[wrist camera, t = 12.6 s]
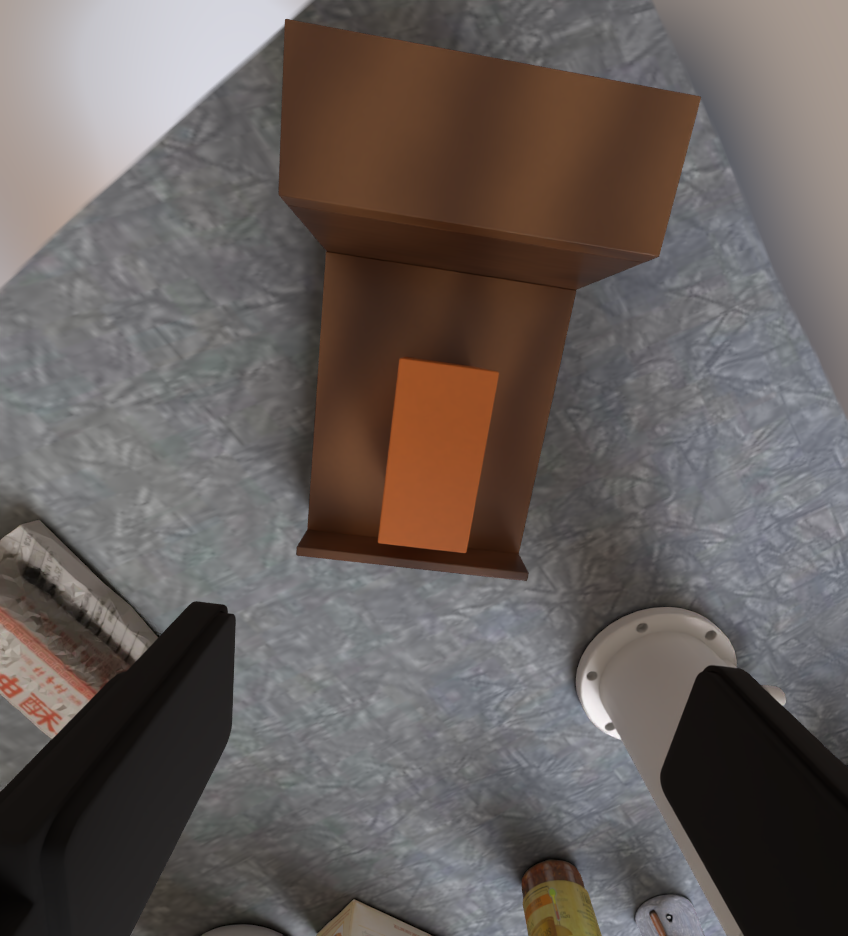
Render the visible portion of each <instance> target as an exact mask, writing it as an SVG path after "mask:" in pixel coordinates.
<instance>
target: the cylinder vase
mask: <svg viewBox="0 0 848 936" xmlns="http://www.w3.org/2000/svg"><path fill="white" fill-rule="evenodd" d="M201 936H284V935H282V934H280V933H278V932H276V931H274V930H271V929H268V928H265V927H261V926H256V925H246V924H237V925H228V926H223V927H219V928H216V929H213V930H210V931H208V932H206V933H204V934H203V935H201Z"/></svg>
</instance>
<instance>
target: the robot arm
mask: <svg viewBox="0 0 848 936" xmlns="http://www.w3.org/2000/svg"><path fill="white" fill-rule="evenodd" d="M235 624H236V619H235V615H234V614H229V613H228V610H227V607H226V606H225V605H221V604H213V603H205V602H197V601H196V602H193V603H191V604H190V605H189V606H188V607H187V608H186V609H185V610H184V611H183V612H182V613H181V614H180V615H179V616H178V618H177V619H176V620H175V621H174V622H173V623H172V624H171V625H170V626H169V627H168V628H167V629H166V630H165V631H164V632H163V633H162V634H161V635H160V636H159V638H158V639H157V640H156V641H155V642H154V643H153V644H152V645H151V646H150V647H149V648H148V649H147V650H146V651H145V652H144V653H143V654H142V655H141V657H140V658H139V659H138V660H137V661H136V662H135V663H134V664H133V665H132V666H131V667H130V668H129V669H128V670H127V671H124V672H121V673H119V674H117V675H115V676H114V677H113V678H112V679H111V680H110V681H108V682H107V683H106V684H105V685H104V686H103V687H102V688H101V689H100V691H99V692H98V693H97V694H96V695H95V696H94V697H93V698H92V699H91V700H90V701H89V702H88V703H87V704H86V705H85V706H84V707H83V708H82V709H81V710H80V711H79V712H78V713H77V714H76V715H75V716H74V717H73V718H72V719H71V720H70V721H69V722H68V723H67V724H66V725H65V726H64V727H63V728H62V730H61V731H60V732H59V733H58V734H57V735H56V736H55V737H54V738H53V739H52V740H51V741H50V742H49V743H48V744H47V745H46V746H45V747H44V748H43V749H42V750H41V751H40V752H39V753H38V754H37V755H36V756H35V757H34V758H33V759H32V760H31V761H30V762H29V763H28V764H27V765H26V766H25V767H24V768H23V770H22V771H21V772H20V773H19V774H18V775H17V776H16V777H15V778H14V779H13V780H12V781H11V782H10V783H9V784H8V785H7V786H6V787H5V788H4V789H3V790H2V791H1V792H0V936H130V935H131V933H132V931H133V929H134V927H135V925H136V923H137V921H138V919H139V917H140V915H141V913H142V911H143V909H144V907H145V905H146V903H147V901H148V899H149V897H150V895H151V893H152V891H153V889H154V887H155V885H156V883H157V881H158V879H159V877H160V875H161V873H162V871H163V869H164V867H165V865H166V863H167V862H168V860H169V858H170V856H171V854H172V852H173V850H174V848H175V846H176V844H177V842H178V840H179V838H180V836H181V834H182V832H183V830H184V828H185V826H186V824H187V822H188V820H189V818H190V816H191V814H192V812H193V810H194V808H195V806H196V804H197V802H198V800H199V798H200V796H201V794H202V792H203V790H204V788H205V786H206V784H207V782H208V780H209V778H210V777H211V775H212V773H213V771H214V769H215V767H216V765H217V763H218V761H219V759H220V757H221V755H222V753H223V751H224V749H225V747H226V744H227V742H228V739H229V736H230V732H231V727H232V708H233V680H234V652H235ZM576 689H577V695H578V697H579V700H580V703H581V705H582V707H583V709H584V711H585V713H586V714H587V716H588V718H589V719H590V720H591V721H592V722H593V724H594V725H595V726H596V727H597V728H599V729H600V730H601V731H603V732H604V733H606V734H608V735H610V736H612V737H615V738H617V739H620V740H622V742H623V743H624V745H625V747H626V749H627V751H628V753H629V755H630V756H631V758H632V760H633V762H634V764H635V766H636V768H637V770H638V771H639V773H640V775H641V777H642V779H643V781H644V783H645V784H646V786H647V788H648V790H649V792H650V794H651V796H652V797H653V799H654V801H655V803H656V805H657V807H658V809H659V810H660V812H661V814H662V816H663V818H664V820H665V822H666V823H667V825H668V827H669V829H670V831H671V833H672V835H673V836H674V838H675V840H676V842H677V844H678V846H679V848H680V849H681V851H682V853H683V855H684V857H685V859H686V861H687V862H688V864H689V866H690V868H691V870H692V872H693V874H694V876H695V877H696V879H697V881H698V883H699V885H700V887H701V889H702V890H703V892H704V894H705V896H706V898H707V900H708V902H709V903H710V905H711V907H712V909H713V911H714V913H715V915H716V916H717V918H718V920H719V922H720V924H721V926H722V928H723V929H724V931H725V933H726V935H727V936H848V768H847V767H846V766H845V765H844V764H843V763H842V762H841V761H840V760H839V759H838V758H837V757H836V756H835V755H833V754H832V753H831V752H830V751H829V750H828V749H827V748H826V747H825V746H824V745H823V744H822V743H821V742H820V741H819V740H818V739H817V738H816V737H815V736H814V735H812V734H811V733H810V732H809V731H808V730H807V729H806V728H805V727H804V726H803V725H802V724H801V723H800V722H799V721H798V720H797V719H796V718H795V717H794V716H793V715H791V714H790V713H789V712H788V711H787V710H786V709H785V708H784V707H783V706H784V705H785V704H786V697H785V694H784V692H783V691H782V690H781V689H780V688H778V687H777V686H767V685H760V684H759V683H758V682H757V681H756V680H755V679H754V678H753V677H752V676H751V675H750V674H748V673H747V672H746V671H744V670H742V669H739V668H737V660H736V655H735V651H734V648H733V646H732V644H731V643H730V641H729V639H728V638H727V637H726V635H725V634H724V633H723V632H722V631H721V630H720V629H719V628H718V627H717V626H716V625H714V624H713V623H712V622H711V621H710V620H708V619H707V618H705V617H703V616H702V615H700V614H698V613H696V612H693V611H689V610H686V609H683V608H674V607H657V608H649V609H645V610H640V611H636V612H634V613H631V614H629V615H626V616H624V617H622V618H620V619H618V620H617V621H615V622H613V623H612V624H610V625H608V626H607V627H606V628H605V629H604V630H602V631H601V632H600V633H599V634H598V635H597V636H596V637H595V638H594V639H593V640H592V642H591V643H590V644H589V645H588V647H587V648H586V650H585V652H584V653H583V655H582V657H581V659H580V662H579V665H578V668H577V674H576Z"/></svg>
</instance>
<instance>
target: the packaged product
mask: <svg viewBox="0 0 848 936" xmlns="http://www.w3.org/2000/svg"><path fill="white" fill-rule="evenodd" d="M157 639H158V637H157V636H156V635H155V634H154V632H153V631H152V630H151V629H150V628H149V627H148V625H147V624H146V623H145V622H144V621H143V620H142V618H141V617H140V616H139V615H138V614H137V613H136V611H135V610H134V609H133V608H132V607H131V606H130V605H129V604H128V603H127V602H125V601H124V600H123V599H122V598H121V597H119V596H118V595H117V594H116V593H115V592H114V591H112V590H111V589H110V588H109V587H108V586H106V585H105V584H104V583H103V582H102V581H101V580H100V579H99V578H98V577H97V576H96V575H95V574H94V573H93V572H92V571H91V570H90V569H89V568H88V567H87V566H86V565H85V564H84V563H83V562H82V561H81V560H80V559H79V558H78V557H77V556H76V555H75V554H74V553H72V552H71V551H70V550H69V549H68V548H67V547H66V546H65V545H64V544H63V543H62V542H61V541H60V540H59V539H58V538H57V537H56V536H55V535H54V534H53V533H52V532H51V531H50V530H49V529H48V528H47V527H46V526H45V525H44V524H43V523H42V522H41V521H40V520H37V521H33V522H29V523H25V524H21V525H20V526H18V527H17V528H16V529H14V530H13V531H11V532H10V533H9V534H7V535H6V536H4V537H3V538H2V539H1V540H0V694H1V695H2V696H3V697H4V698H5V699H7V700H8V702H9V703H10V704H11V705H13V706H14V707H15V708H17V709H18V710H19V711H21V712H22V713H23V714H24V715H25V717H26V718H28V719H29V720H30V721H31V722H32V723H33V724H34V725H36V726H37V727H38V728H39V729H40V730H41V731H42V732H43V733H45V734H46V735H47V736H49V737H50V738H51V739H53V738H54V737H55V736H56V735H57V734H58V733H59V732H60V731H61V730H62V728H63V727H64V726H65V725H66V724H67V723H68V722H69V721H70V720H71V719H72V718H73V717H74V716H75V715H76V714H77V713H78V712H79V711H80V710H81V709H82V708H83V707H84V706H85V705H86V704H87V703H88V702H89V701H90V700H91V699H92V698H93V697H94V696H95V695H96V694H97V693H98V692H99V691H100V689H101V688H102V687H103V686H104V685H105V684H106V683H107V682H108V681H110V680H111V679H112V678H113V677H114V676H115V675H117V674H119V673H121V672H124V671H127V670H128V669H129V668H130V667H131V666H132V665H133V664H134V663H135V662H136V661H137V660H138V659H139V658H140V657H141V655H142V654H143V653H144V652H145V651H146V650H147V649H148V648H149V647H150V646H151V645H152V644H153V643H154V642H155V641H156V640H157Z"/></svg>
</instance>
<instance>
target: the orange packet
mask: <svg viewBox="0 0 848 936" xmlns="http://www.w3.org/2000/svg"><path fill="white" fill-rule="evenodd" d="M498 377H499V372H497V371H492V370H487V369H482V368H477V367H472V366H466V365H459V364H452V363H445V362H438V361H431V360H424V359H417V358H410V357H403V358H400V359H399V365H398V373H397V382H396V390H395V399H394V407H393V416H392V424H391V433H390V441H389V450H388V458H387V466H386V475H385V483H384V492H383V500H382V509H381V517H380V526H379V534H378V543H382V544H390V545H399V546H407V547H416V548H425V549H433V550H442V551H451V552H459V553H466V552H467V547H468V541H469V536H470V530H471V525H472V520H473V514H474V509H475V503H476V498H477V492H478V487H479V481H480V476H481V470H482V465H483V459H484V454H485V448H486V443H487V437H488V432H489V426H490V421H491V416H492V410H493V405H494V399H495V394H496V388H497V383H498Z"/></svg>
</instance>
